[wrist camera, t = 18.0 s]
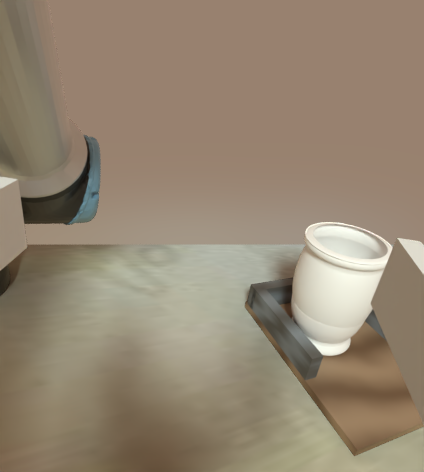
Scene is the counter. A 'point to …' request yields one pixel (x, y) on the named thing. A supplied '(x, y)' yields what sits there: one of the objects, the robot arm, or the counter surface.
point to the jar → (336, 283)
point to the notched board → (340, 372)
